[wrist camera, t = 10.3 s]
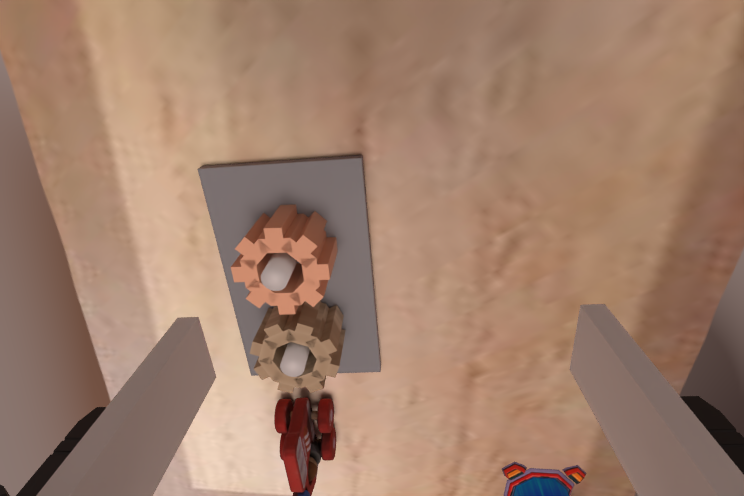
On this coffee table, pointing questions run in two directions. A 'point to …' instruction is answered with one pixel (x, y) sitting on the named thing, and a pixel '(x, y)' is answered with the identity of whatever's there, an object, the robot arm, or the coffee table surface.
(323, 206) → the gear board
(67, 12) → the coffee table surface
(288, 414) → the toy fire truck
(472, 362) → the coffee table surface
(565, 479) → the fantasy tower
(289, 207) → the loose gear
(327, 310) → the gear
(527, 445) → the coffee table surface
